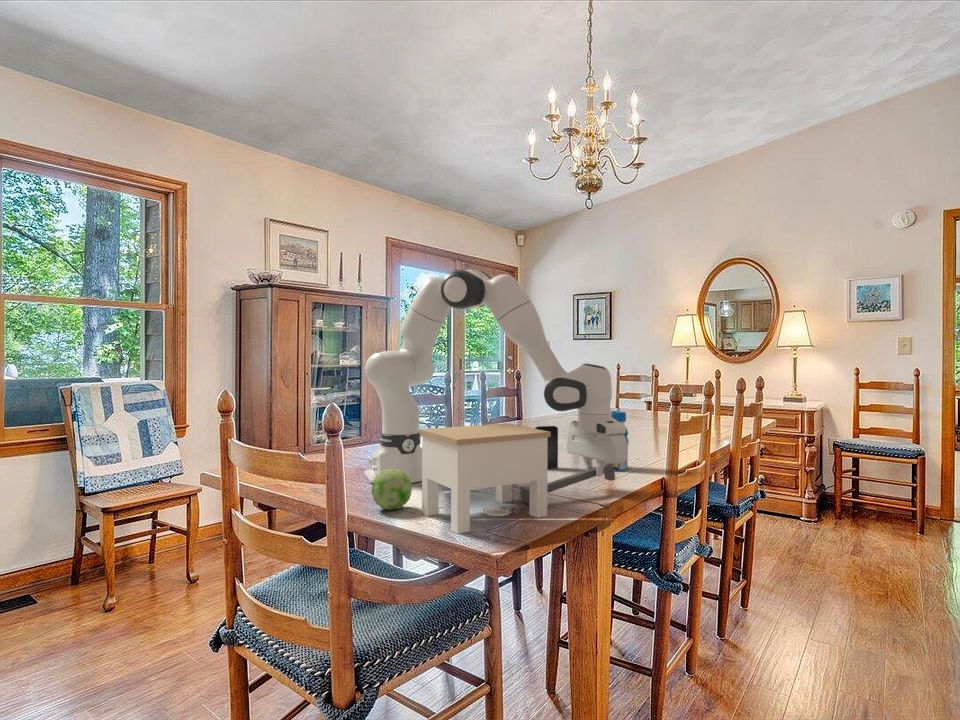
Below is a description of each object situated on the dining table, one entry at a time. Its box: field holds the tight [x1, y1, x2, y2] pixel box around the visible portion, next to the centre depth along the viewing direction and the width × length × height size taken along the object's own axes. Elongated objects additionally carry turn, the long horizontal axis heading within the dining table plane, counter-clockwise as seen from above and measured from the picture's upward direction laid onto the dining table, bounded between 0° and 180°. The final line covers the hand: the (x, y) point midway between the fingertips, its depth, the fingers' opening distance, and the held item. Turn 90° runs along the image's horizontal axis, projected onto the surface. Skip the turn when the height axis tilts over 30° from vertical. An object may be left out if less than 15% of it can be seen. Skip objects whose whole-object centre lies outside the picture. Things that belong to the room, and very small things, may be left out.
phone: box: [534, 425, 559, 470], centre depth 182 cm, size 8×1×15 cm, turn 103°
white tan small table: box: [419, 422, 551, 535], centre depth 132 cm, size 19×25×20 cm
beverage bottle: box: [606, 410, 629, 473], centre depth 180 cm, size 8×8×20 cm
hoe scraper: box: [519, 463, 616, 509], centre depth 146 cm, size 28×9×4 cm, turn 121°
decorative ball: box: [371, 469, 413, 511], centre depth 137 cm, size 10×10×10 cm
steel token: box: [482, 505, 513, 517], centre depth 134 cm, size 7×7×1 cm
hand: (594, 475), depth 150 cm, fingers closed on hoe scraper, 2 cm apart
